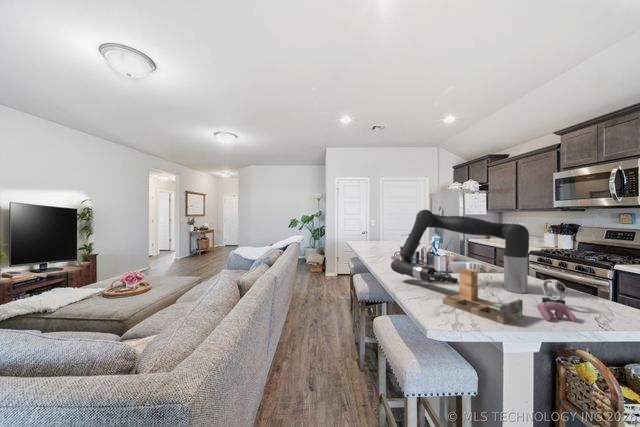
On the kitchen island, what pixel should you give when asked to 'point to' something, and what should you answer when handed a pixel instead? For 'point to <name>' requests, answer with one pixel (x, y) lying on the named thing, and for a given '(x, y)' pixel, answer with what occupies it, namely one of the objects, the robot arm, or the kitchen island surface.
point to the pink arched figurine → (559, 310)
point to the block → (468, 284)
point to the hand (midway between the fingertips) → (456, 281)
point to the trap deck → (487, 308)
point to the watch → (558, 288)
